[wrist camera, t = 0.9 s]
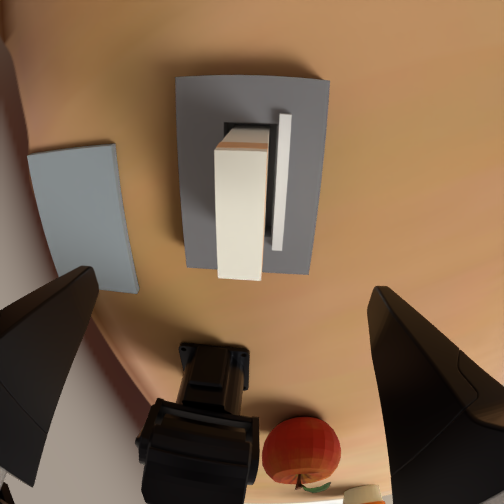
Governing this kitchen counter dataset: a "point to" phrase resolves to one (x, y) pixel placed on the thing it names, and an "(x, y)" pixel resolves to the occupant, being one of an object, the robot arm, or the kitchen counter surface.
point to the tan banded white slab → (241, 201)
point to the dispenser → (279, 160)
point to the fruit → (301, 452)
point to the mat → (84, 213)
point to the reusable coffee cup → (363, 495)
